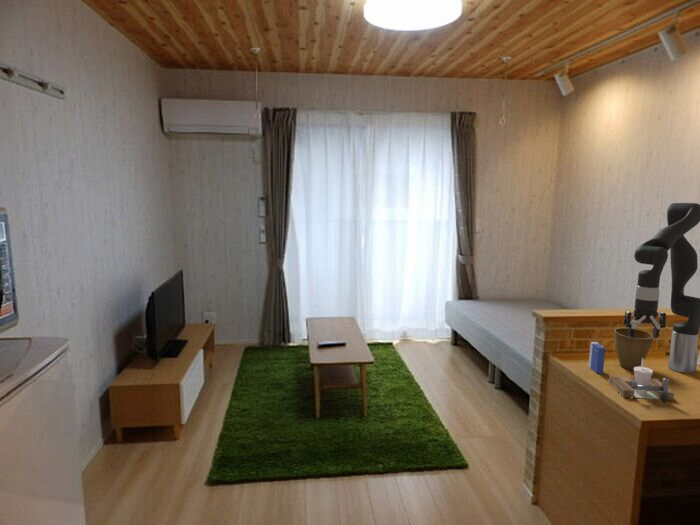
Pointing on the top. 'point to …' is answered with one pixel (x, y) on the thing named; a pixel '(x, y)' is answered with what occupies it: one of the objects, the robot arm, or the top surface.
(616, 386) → the tan frame
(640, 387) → the dark grey piece
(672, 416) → the top surface
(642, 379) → the smoothie
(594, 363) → the walkman
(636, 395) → the bay mat
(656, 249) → the robot arm
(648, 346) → the plant pot
